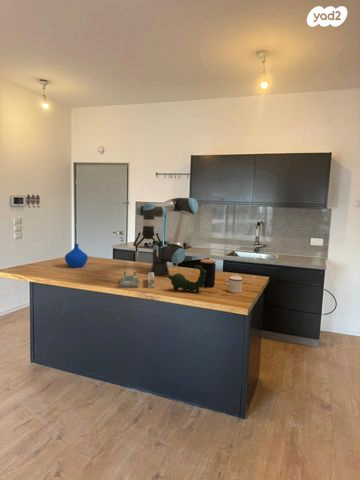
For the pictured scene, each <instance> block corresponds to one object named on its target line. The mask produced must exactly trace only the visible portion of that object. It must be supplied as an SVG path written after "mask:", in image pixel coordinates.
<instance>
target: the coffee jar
mask: <svg viewBox="0 0 360 480" xmlns="http://www.w3.org/2000/svg"><path fill="white" fill-rule="evenodd" d="M216 262H217V261H216V260H215V259H209V258H207V259H206V258H205V259H204V258H202V259H200V265H199V266H201V267H202V269H205V270H206V276H205V278H204V279H205V282H203V283H204V287H203V288H207V287H210V288H214V286H215V285H216V269H217V268H216V266H217V265H216ZM200 273H201V270H199V274H200Z"/></svg>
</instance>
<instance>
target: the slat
mask: <svg viewBox="0 0 360 480" xmlns="http://www.w3.org/2000/svg"><path fill="white" fill-rule="evenodd" d="M155 281H156V279H155V275H154V273H152V272H150V271H149V272H147V286H148V287H147V288H148V289H155Z"/></svg>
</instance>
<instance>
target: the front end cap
mask: <svg viewBox="0 0 360 480" xmlns="http://www.w3.org/2000/svg"><path fill="white" fill-rule="evenodd" d="M122 278H123V279H122V285H135V281H136V278H137V275H136V276H133V281H125V276H124V275H123V276H122Z"/></svg>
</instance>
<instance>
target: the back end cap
mask: <svg viewBox="0 0 360 480" xmlns="http://www.w3.org/2000/svg"><path fill="white" fill-rule="evenodd" d="M136 274H137V270H133V274H132V275H131V274H129V275H128V274H127V270H123V276H125V279H133V276H136V277H137V275H136Z"/></svg>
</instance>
